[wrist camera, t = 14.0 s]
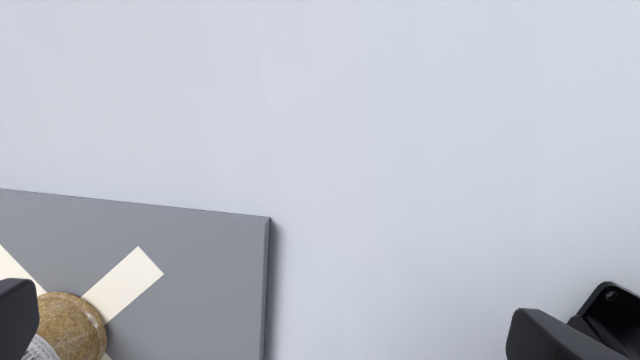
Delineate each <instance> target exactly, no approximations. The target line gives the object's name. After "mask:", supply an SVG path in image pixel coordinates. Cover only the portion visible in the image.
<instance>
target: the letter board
mask: <svg viewBox="0 0 640 360" xmlns="http://www.w3.org/2000/svg"><path fill="white" fill-rule="evenodd" d="M269 226H270V217H262V216H253V215H243V214H234V213H225V212H215V211H206V210H196V209H187V208H177V207H168V206H159V205H149V204H140V203H130V202H121V201H111V200H102V199H93V198H83V197H74V196H64V195H55V194H45V193H36V192H27V191H17V190H8V189H0V280H3V279H6V278H24V279H31V280H32V281H33V282H34V283H35V286H36V292H37V296H39V295H41V294H45V293H50V292H65V293H69V294H73V295H75V296H77V297H79V298H81V299H82V300H84V301H85V302H87V303H88V304H89V305H90V306H92V308H93V309H95V310H96V312H97V313H98V314H99V315H100V317H101V319H102V322H103V325H104V327H105V329H106V336H107V347H106V349H105V352H104V354H103V357H102V358H101V359H100V360H264V338H265V315H266V293H267V270H268V248H269Z"/></svg>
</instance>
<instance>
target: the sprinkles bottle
mask: <svg viewBox="0 0 640 360" xmlns="http://www.w3.org/2000/svg"><path fill="white" fill-rule="evenodd" d="M37 299H38V307H39V315H40V322H39V327H38V330H37V332H36V334H35V336H34V338H33V339H32V341H31V343H30V345H29V347H28V348H27V350H26V352H25V354H24V356H23V357H22V359H21V360H100V359H101V358H102V357H103V354H104V352H105V349H106V347H107V336H106V329H105V327H104V325H103V322H102V319H101V317H100V315H99V314H98V313H97V312H96V310H95V309H93V308H92V306H90V305H89V304H88V303H87V302H85V301H84V300H82V299H81V298H79V297H77V296H75V295H73V294H69V293H65V292H50V293H45V294H41V295H39V296H37Z"/></svg>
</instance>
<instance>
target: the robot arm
mask: <svg viewBox="0 0 640 360" xmlns="http://www.w3.org/2000/svg"><path fill="white" fill-rule="evenodd" d="M609 291H614V292H613V295H612V296H610V297H605V295H606V293H607V292H609ZM39 322H40V315H39V307H38V299H37V292H36V286H35V283H34V282H33V281H32V280H31V279H24V278H6V279H3V280H0V360H21V359H22V357H23V356H24V354H25V352H26V350H27V348H28V347H29V345H30V343H31V341H32V339H33V338H34V336H35V334H36V332H37V330H38V327H39ZM506 356H507V360H640V296H638V295H636V294H634V293H633V292H631V291H629V290H627V289H625V288H623V287H621V286H619V285H617V284H615V283H613V282H603V283H601V284H600V285H599V286H597V288H596V289H595V290H594V292H593V293H592V294H591V296H590V297H589V298H588V300H587V301H586V302H585V303H584V305H583V306H582V307H581V309H580V310H579V311H578V313H577V314H576V315H575V316H573V317H571V318H570V320H569V321H568V322H567V324H565V323H563V322H561V321H559V320H557V319H556V318H554V317H552V316H550V315H548V314H547V313H545V312H543V311H541V310H539V309H529V308H518V309H517V310H515V312H514V314H513V317H512V321H511V325H510V329H509V333H508V337H507V342H506Z"/></svg>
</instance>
